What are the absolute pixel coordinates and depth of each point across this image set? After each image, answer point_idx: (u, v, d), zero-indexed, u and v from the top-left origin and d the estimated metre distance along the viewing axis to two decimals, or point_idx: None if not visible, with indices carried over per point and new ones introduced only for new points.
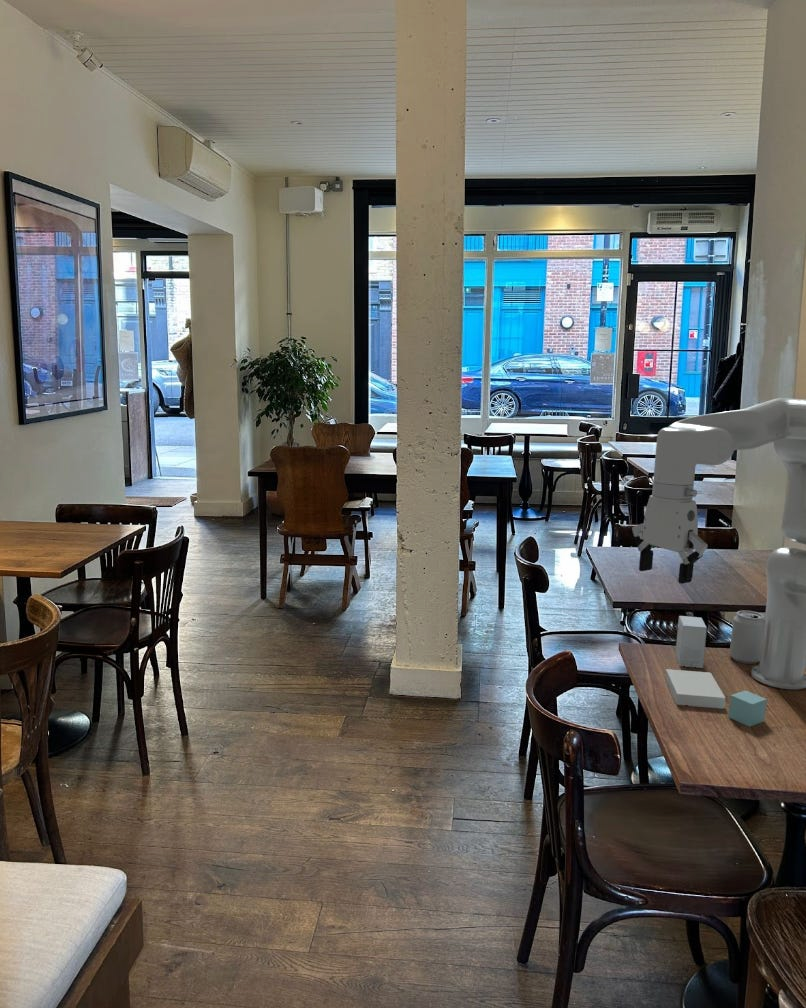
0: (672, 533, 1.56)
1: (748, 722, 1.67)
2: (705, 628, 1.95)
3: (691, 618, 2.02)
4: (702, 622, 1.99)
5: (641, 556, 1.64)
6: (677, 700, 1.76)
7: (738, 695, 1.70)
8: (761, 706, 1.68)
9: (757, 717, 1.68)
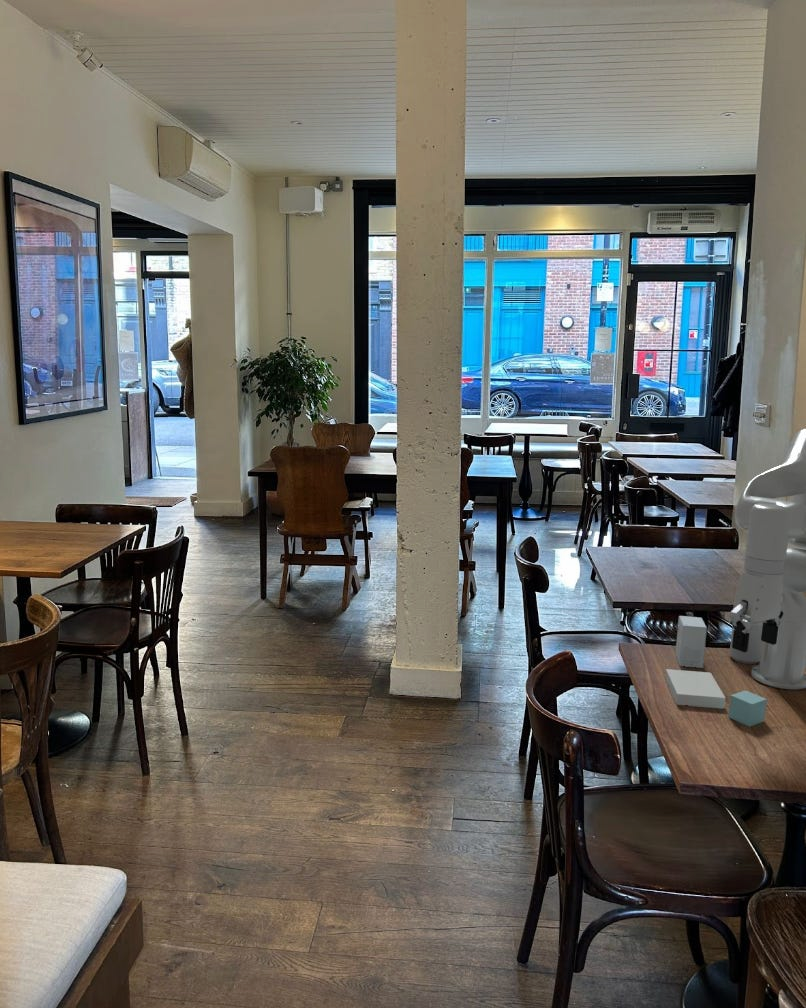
0: (777, 603, 1.65)
1: (748, 722, 1.67)
2: (705, 628, 1.95)
3: (691, 618, 2.02)
4: (702, 622, 1.99)
5: (748, 637, 1.63)
6: (677, 700, 1.76)
7: (738, 695, 1.70)
8: (761, 706, 1.68)
9: (757, 717, 1.68)
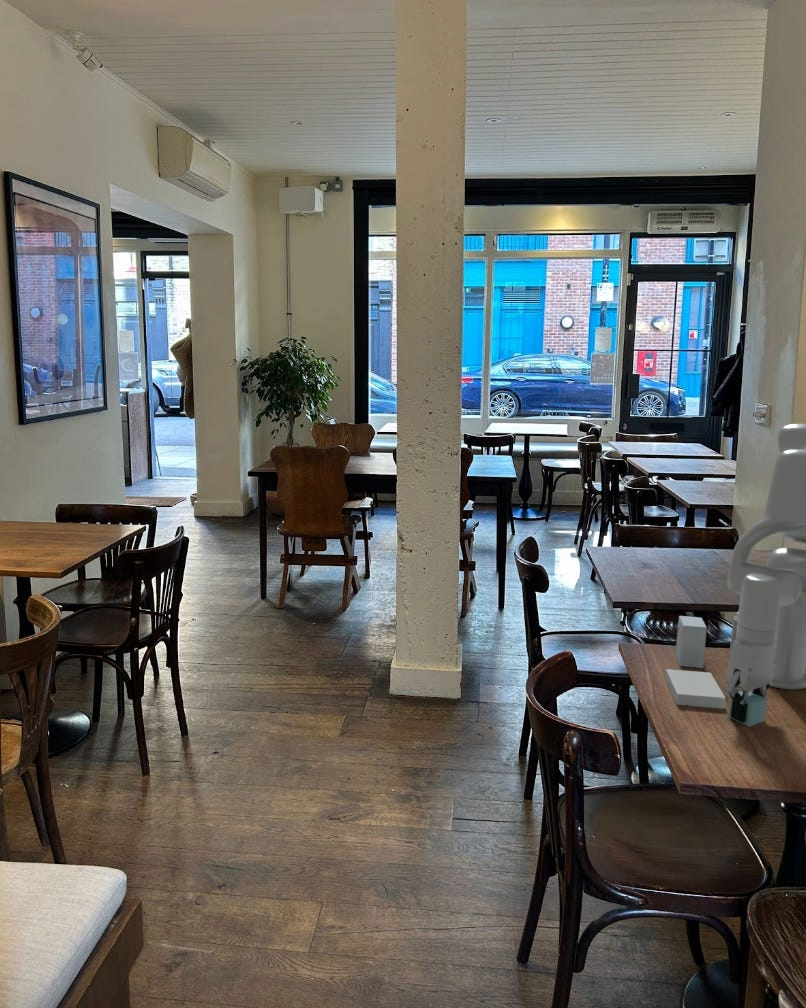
0: (770, 670, 1.68)
1: (748, 722, 1.67)
2: (705, 628, 1.95)
3: (691, 618, 2.02)
4: (702, 622, 1.99)
5: (746, 708, 1.67)
6: (677, 700, 1.76)
7: None
8: (761, 705, 1.68)
9: (757, 717, 1.68)
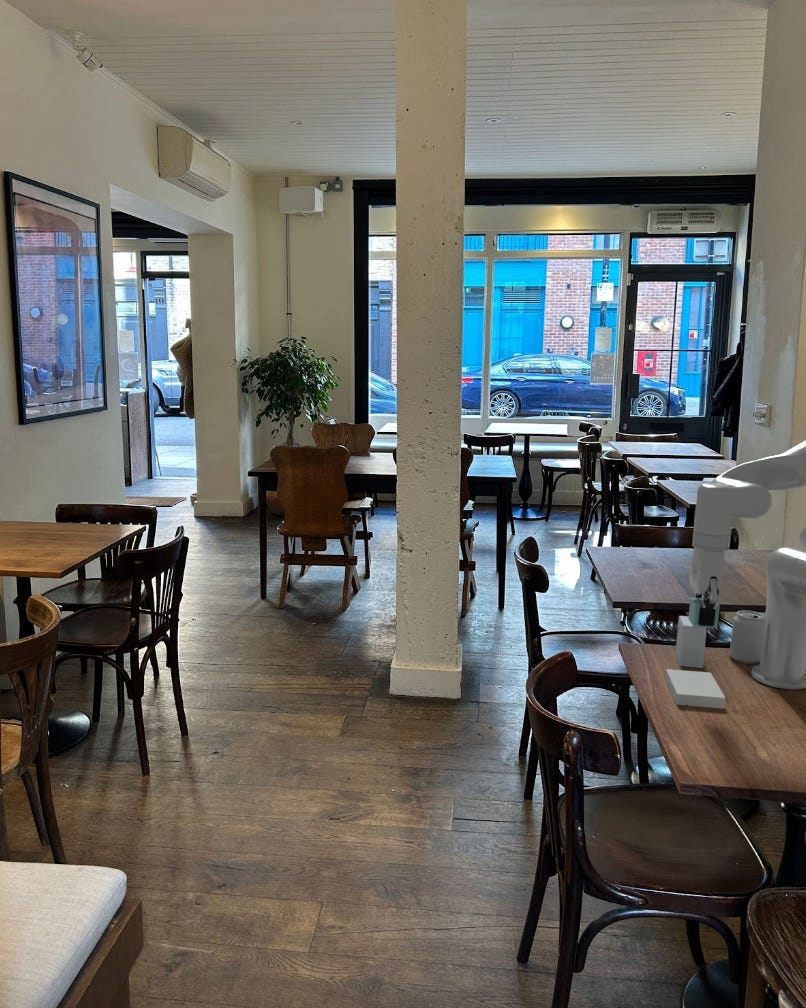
0: None
1: (716, 624, 1.76)
2: (705, 628, 1.95)
3: None
4: None
5: None
6: (677, 700, 1.76)
7: (698, 602, 1.77)
8: None
9: None
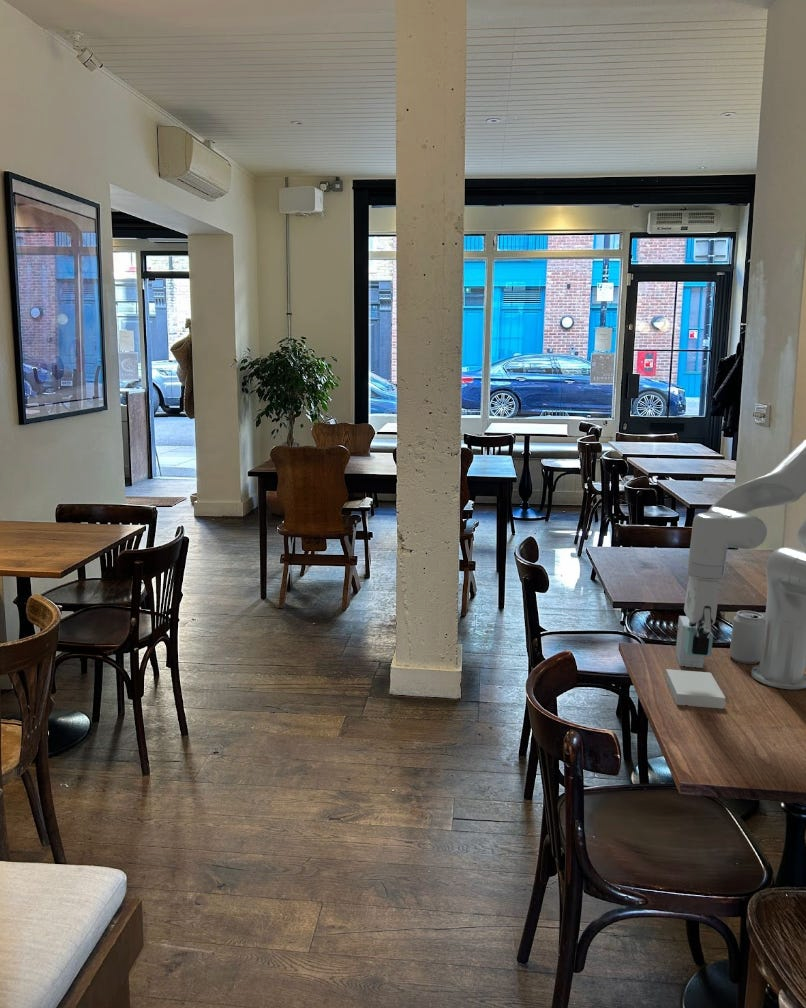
0: None
1: (709, 652, 1.78)
2: None
3: None
4: None
5: None
6: (677, 700, 1.76)
7: (692, 631, 1.79)
8: None
9: None
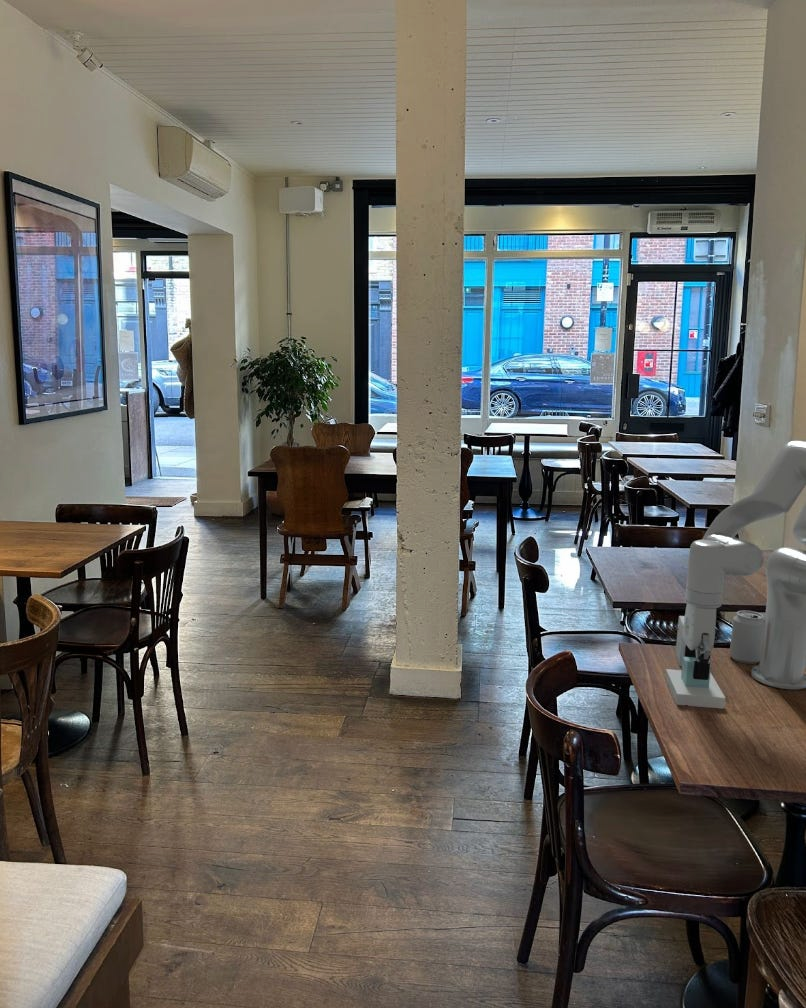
0: None
1: (707, 684, 1.79)
2: None
3: None
4: None
5: None
6: (677, 700, 1.76)
7: (690, 663, 1.80)
8: None
9: None
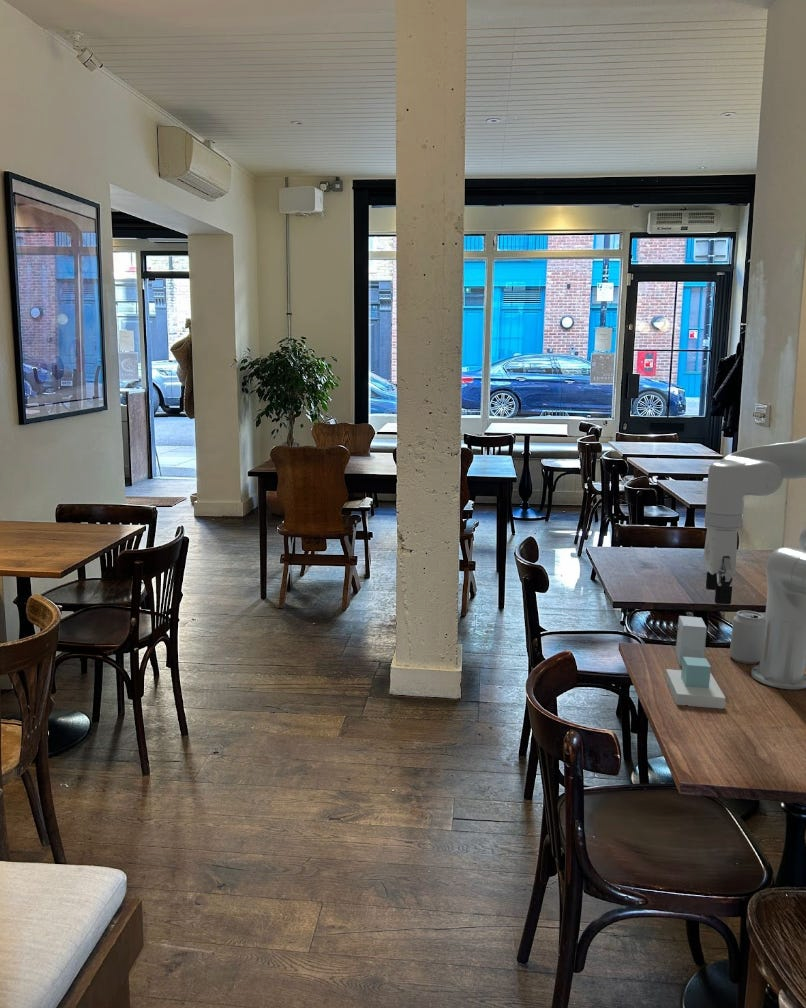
0: None
1: (707, 684, 1.79)
2: (705, 628, 1.95)
3: (691, 618, 2.02)
4: (702, 622, 1.99)
5: None
6: (677, 700, 1.76)
7: (690, 663, 1.80)
8: None
9: None
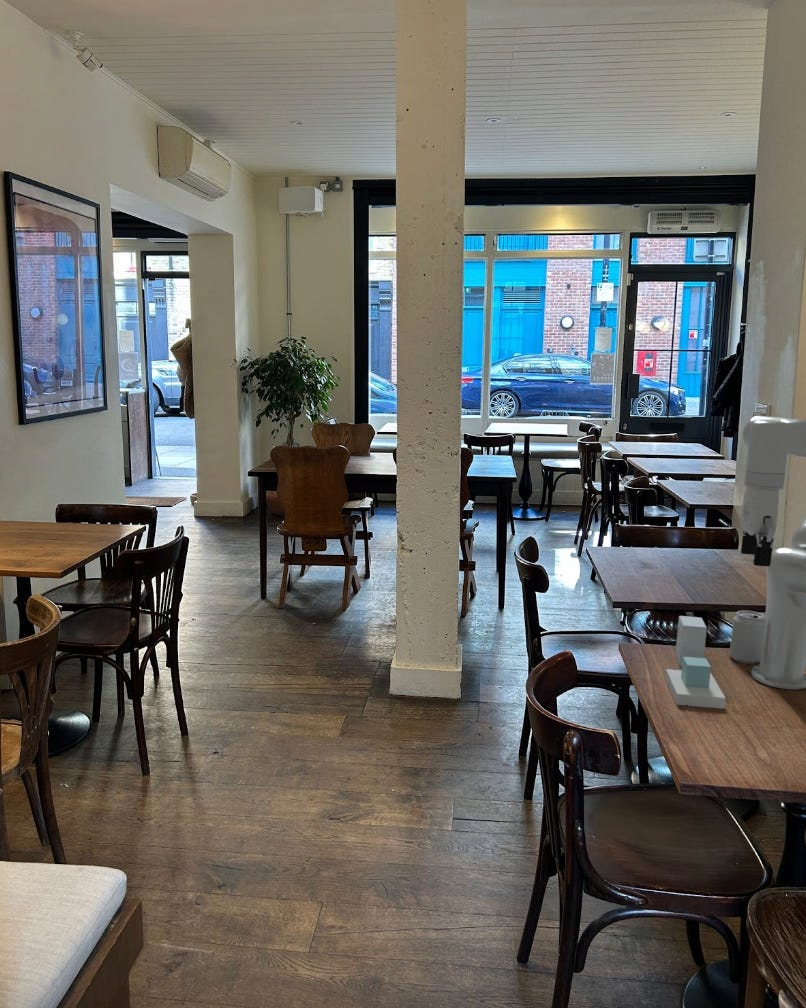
0: None
1: (707, 684, 1.79)
2: (705, 628, 1.95)
3: (691, 618, 2.02)
4: (702, 622, 1.99)
5: None
6: (677, 700, 1.76)
7: (690, 663, 1.80)
8: None
9: None
